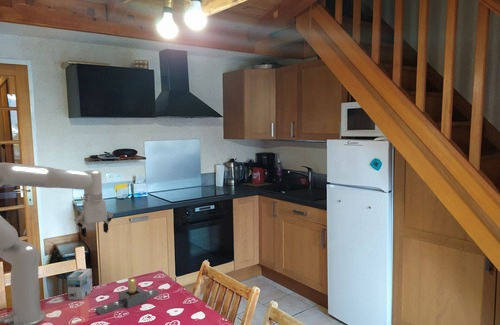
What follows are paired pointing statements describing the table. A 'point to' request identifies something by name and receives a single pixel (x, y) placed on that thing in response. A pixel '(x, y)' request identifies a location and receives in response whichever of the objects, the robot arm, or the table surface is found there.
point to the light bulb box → (79, 284)
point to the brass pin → (132, 286)
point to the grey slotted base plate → (127, 300)
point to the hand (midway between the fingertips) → (95, 234)
